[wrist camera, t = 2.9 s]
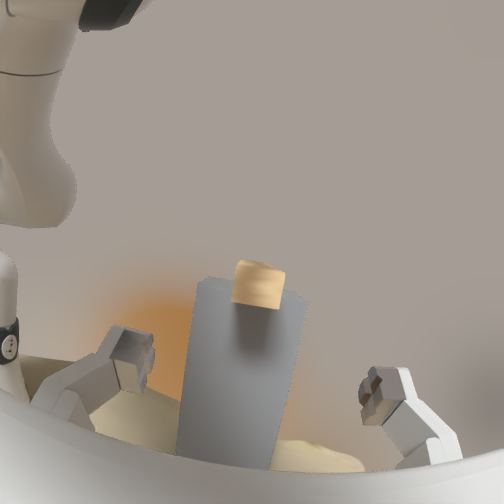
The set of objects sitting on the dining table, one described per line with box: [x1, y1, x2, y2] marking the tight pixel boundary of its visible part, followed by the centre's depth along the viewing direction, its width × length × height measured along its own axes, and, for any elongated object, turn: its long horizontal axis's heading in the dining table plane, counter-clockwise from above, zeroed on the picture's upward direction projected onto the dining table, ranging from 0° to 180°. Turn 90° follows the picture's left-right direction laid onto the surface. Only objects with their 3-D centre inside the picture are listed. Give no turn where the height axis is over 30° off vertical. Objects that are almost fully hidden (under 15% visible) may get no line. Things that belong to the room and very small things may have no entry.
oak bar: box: [230, 259, 285, 310], centre depth 37 cm, size 4×22×3 cm, turn 1°
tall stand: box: [176, 276, 308, 470], centre depth 39 cm, size 12×10×26 cm
